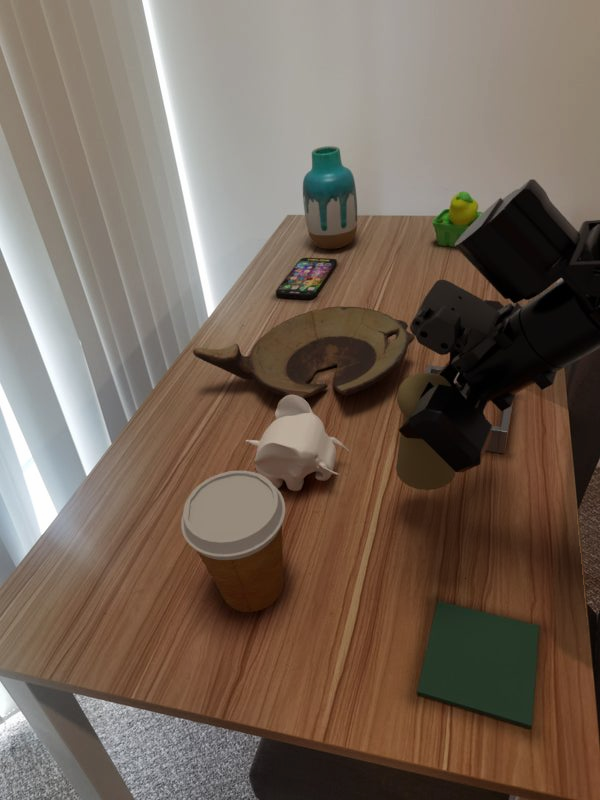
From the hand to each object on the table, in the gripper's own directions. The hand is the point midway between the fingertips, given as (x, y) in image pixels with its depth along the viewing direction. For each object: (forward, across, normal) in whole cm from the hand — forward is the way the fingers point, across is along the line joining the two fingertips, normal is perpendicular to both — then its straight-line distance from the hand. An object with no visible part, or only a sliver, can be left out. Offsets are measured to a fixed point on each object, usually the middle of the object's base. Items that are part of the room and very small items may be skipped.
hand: (412, 416), depth 58 cm
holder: (+9, -17, +10) cm, 22 cm away
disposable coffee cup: (+18, +16, +1) cm, 23 cm away
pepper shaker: (+4, 0, +6) cm, 7 cm away
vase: (+37, -62, -19) cm, 75 cm away
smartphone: (+36, -47, -18) cm, 61 cm away
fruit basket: (+19, -69, -1) cm, 71 cm away
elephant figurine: (+20, 0, -1) cm, 20 cm away
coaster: (+2, +14, +17) cm, 22 cm away
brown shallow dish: (+26, -20, -7) cm, 33 cm away
